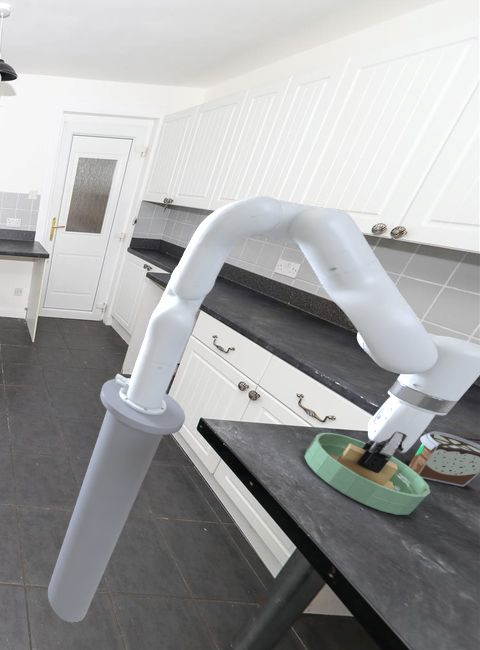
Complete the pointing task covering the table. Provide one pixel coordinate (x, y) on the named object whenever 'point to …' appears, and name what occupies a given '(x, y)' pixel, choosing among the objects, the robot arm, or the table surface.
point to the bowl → (397, 501)
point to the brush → (350, 462)
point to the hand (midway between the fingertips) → (367, 464)
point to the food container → (447, 459)
